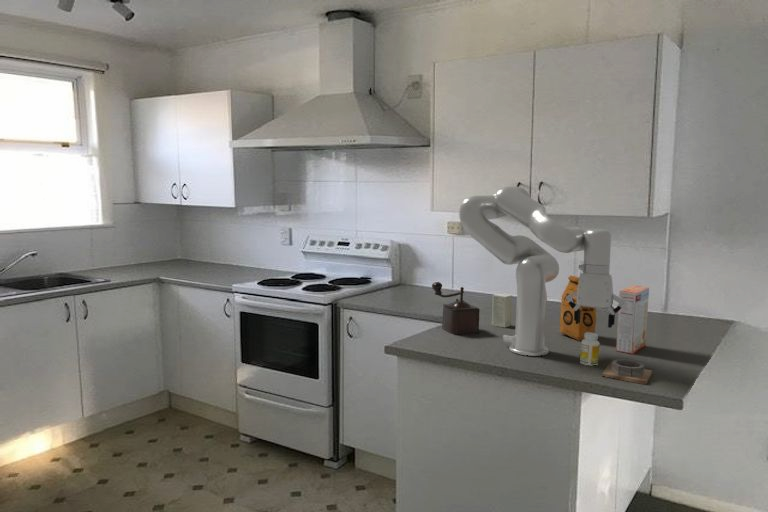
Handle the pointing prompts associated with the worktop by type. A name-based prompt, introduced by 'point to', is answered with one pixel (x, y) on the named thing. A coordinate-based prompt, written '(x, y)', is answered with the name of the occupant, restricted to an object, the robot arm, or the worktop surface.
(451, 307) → the manual coffee grinder
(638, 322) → the cracker box
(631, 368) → the socket board
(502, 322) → the skincare box
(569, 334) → the coffee package
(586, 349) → the supplement bottle
